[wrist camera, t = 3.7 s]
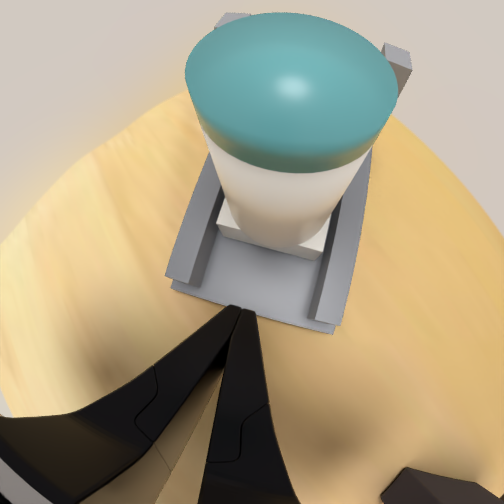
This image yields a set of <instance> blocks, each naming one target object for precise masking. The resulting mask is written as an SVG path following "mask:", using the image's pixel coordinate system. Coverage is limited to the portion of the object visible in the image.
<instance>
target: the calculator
mask: <svg viewBox="0 0 504 504" xmlns="http://www.w3.org/2000/svg"><path fill="white" fill-rule="evenodd" d="M381 499H382V501H383V502H384V504H504V501H503V500H501V499H500V498H498V497H497V496H495V495H494V494H492V493H491V492H489V491H488V490H486V489H485V488H483V487H482V486H480V485H479V484H477V483H474V482H468V481H462V480H457V479H452V478H447V477H443V476H438V475H434V474H430V473H426V472H422V471H418V470H415V469H411V468H405V469H404V471H403V472H402V473H401V474H400V475H399V477H398V478H397V479H396V480H395V481H394V482H393V484H392V485H391V486H390V487H389V488H388V489H387V490H386V491H385V493H384V494H383V495H382V496H381Z"/></svg>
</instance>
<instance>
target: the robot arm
mask: <svg viewBox="0 0 504 504" xmlns="http://www.w3.org/2000/svg"><path fill="white" fill-rule="evenodd" d="M223 371H224V372H223ZM222 373H223V377H222V382H221V387H220V392H219V397H218V402H217V407H216V412H215V417H214V423H213V428H212V433H211V438H210V443H209V448H208V453H207V459H206V464H205V469H204V474H203V479H202V484H201V489H200V494H199V499H198V504H301V503H300V502H299V500H298V498H297V496H296V494H295V492H294V489H293V487H292V484H291V482H290V479H289V476H288V473H287V470H286V467H285V464H284V461H283V458H282V455H281V451H280V448H279V445H278V441H277V438H276V434H275V430H274V425H273V420H272V415H271V408H270V404H269V396H268V390H267V383H266V377H265V370H264V364H263V357H262V351H261V344H260V337H259V331H258V324H257V318H256V312H255V311H253V310H250V309H246V308H243V309H242V308H241V307H239V306H236V305H232V304H229V305H228V306H227V307H225V308H224V309H223V310H222V311H220V312H219V313H218V314H217V315H215V316H214V317H213V318H212V319H210V320H209V321H208V322H207V323H205V324H204V325H203V326H202V327H200V328H199V329H198V330H197V331H195V332H194V333H193V334H192V335H190V336H189V337H188V338H187V339H185V340H184V341H183V342H181V343H180V344H179V345H178V346H176V347H175V348H174V349H173V350H171V351H170V352H169V353H167V354H166V355H165V356H164V357H162V358H161V359H160V360H158V361H157V362H156V363H155V364H154V366H153V365H152V366H150V367H149V368H148V369H147V370H145V371H144V372H143V373H141V374H140V375H138V376H137V377H136V378H134V379H133V380H131V381H130V382H128V383H127V384H125V385H123V386H122V387H120V388H118V389H117V390H115V391H113V392H111V393H110V394H108V395H106V396H104V397H102V398H101V399H99V400H97V401H95V402H93V403H91V404H89V405H88V406H86V407H84V408H82V409H80V410H77V411H75V412H71V413H68V414H62V415H52V416H39V417H20V418H9V417H4V416H2V415H1V414H0V504H154V503H155V501H156V500H157V498H158V496H159V494H160V492H161V491H162V489H163V487H164V485H165V483H166V481H167V480H168V478H169V476H170V474H171V472H172V470H173V468H174V467H175V465H176V463H177V461H178V459H179V457H180V455H181V454H182V452H183V450H184V448H185V446H186V444H187V442H188V440H189V438H190V436H191V435H192V433H193V431H194V429H195V427H196V425H197V423H198V421H199V419H200V417H201V415H202V413H203V411H204V409H205V407H206V405H207V403H208V402H209V400H210V398H211V396H212V394H213V392H214V390H215V388H216V386H217V384H218V382H219V380H220V378H221V376H222Z"/></svg>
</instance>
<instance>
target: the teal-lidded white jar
mask: <svg viewBox="0 0 504 504" xmlns="http://www.w3.org/2000/svg"><path fill="white" fill-rule="evenodd" d="M185 79H186V83H187V87H188V90H189V93H190V96H191V99H192V102H193V105H194V108H195V111H196V114H197V116H198V119H199V122H200V125H201V128H202V131H203V134H204V137H205V140H206V143H207V145H208V148H209V151H210V154H211V157H212V160H213V163H214V166H215V169H216V171H217V174H218V177H219V180H220V183H221V186H222V189H223V192H224V194H225V199H224V202H223V205H222V208H221V211H220V214H219V217H218V220H217V223H216V224H217V226H218V228H219V229H220V231H221V233H222V235H223V236H224V237H228V238H231V239H235V240H239V241H243V242H246V243H250V244H254V245H257V246H261V247H265V248H269V249H272V250H276V251H280V252H283V253H287V254H291V255H294V256H298V257H302V258H305V259H309V260H313V261H315V260H316V259H317V258H318V256H319V255H320V254H321V253H322V252H323V249H324V244H325V240H326V235H327V231H328V226H329V221H330V217H331V213H332V211H333V210H334V208H335V207H336V205H337V203H338V202H339V200H340V199H341V197H342V195H343V194H344V192H345V191H346V189H347V187H348V186H349V184H350V183H351V181H352V179H353V178H354V176H355V174H356V173H357V171H358V169H359V168H360V166H361V164H362V163H363V161H364V159H365V158H366V156H367V154H368V153H369V151H370V149H371V148H372V146H373V144H374V142H375V141H376V139H377V137H378V136H379V134H380V132H381V130H382V129H383V127H384V125H385V123H386V122H387V120H388V118H389V116H390V114H391V113H392V111H393V109H394V107H395V105H396V102H397V98H398V84H397V79H396V76H395V73H394V71H393V69H392V67H391V65H390V64H389V62H388V61H387V59H386V58H385V57H384V55H383V54H382V53H381V52H380V51H379V50H378V49H377V48H376V47H375V46H374V45H373V44H372V43H370V42H369V41H368V40H367V39H365V38H364V37H362V36H361V35H359V34H358V33H356V32H354V31H352V30H351V29H349V28H347V27H345V26H342V25H340V24H338V23H335V22H333V21H330V20H327V19H323V18H319V17H315V16H311V15H305V14H298V13H264V14H257V15H251V16H247V17H243V18H240V19H236V20H233V21H231V22H228V23H226V24H224V25H222V26H220V27H218V28H216V29H215V30H213V31H212V32H210V33H209V34H207V35H206V36H205V37H204V38H203V39H202V40H200V41H199V42H198V44H197V45H196V46H195V47H194V49H193V50H192V52H191V53H190V55H189V57H188V60H187V62H186V68H185Z"/></svg>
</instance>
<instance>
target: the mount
mask: <svg viewBox="0 0 504 504" xmlns="http://www.w3.org/2000/svg"><path fill="white" fill-rule="evenodd" d="M247 16H251V14H245V13H225V14H224V16H223V17H222V18H221V19H220V20H219V22H218V23H217V24H216V25H215V27H214V30H215V29H216V28H218V27H220V26H222V25H224V24H226V23H228V22H231V21H233V20H236V19H240V18H243V17H247ZM381 53H382V54H383V55H384V57H385V58H386V59H387V61H388V62H389V64H390V65H391V67H392V69H393V71H394V73H395V76H396V79H397V84H398V97H399V94H400V93H401V91H402V89H403V87H404V85H405V83H406V82H407V80H408V78H409V76H410V74H411V72H412V65H411V58H410V53H409V52H408V51H405V50H403V49H401V48H398V47H395V46H393V45H390V44H387V43H384V45H383V48H382V51H381ZM371 155H372V148H371V149H370V151H369V153H368V154H367V156H366V158H365V159H364V161H363V163H362V164H361V166H360V168H359V169H358V171H357V173H356V174H355V176H354V178H353V179H352V181H351V183H350V184H349V186H348V187H347V189H346V191H345V192H344V194H343V195H342V197H341V199H340V200H339V202H338V203H337V205H336V207H335V208H334V210H333V211H332V213H331V217H330V221H329V226H328V231H327V235H326V240H325V244H324V249H323V252H322V253H321V254H320V255H319V256H318V258H317V259H316V260H315V261H313V260H309V259H305V258H302V257H298V256H294V255H291V254H287V253H283V252H280V251H276V250H272V249H269V248H265V247H261V246H257V245H254V244H250V243H246V242H243V241H239V240H235V239H231V238H228V237H224V236H223V235H222V233H221V231H220V229H219V228H218V226H217V224H216V223H217V220H218V217H219V214H220V211H221V208H222V205H223V202H224V199H225V194H224V192H223V189H222V186H221V183H220V180H219V177H218V174H217V171H216V169H215V166H214V163H213V160H212V157H211V154H210V152H209V154H208V156H207V159H206V161H205V164H204V166H203V169H202V171H201V174H200V176H199V179H198V182H197V184H196V187H195V189H194V192H193V195H192V197H191V200H190V203H189V205H188V208H187V211H186V214H185V216H184V219H183V222H182V225H181V228H180V231H179V233H178V236H177V239H176V242H175V245H174V248H173V251H172V254H171V257H170V260H169V263H168V267H167V270H166V273H165V276H166V277H168V278H171V279H173V282H172V285H171V289H174V290H177V291H180V292H183V293H186V294H189V295H192V296H196V297H199V298H202V299H205V300H208V301H211V302H215V303H218V304H221V305H224V306H228V305H229V304H232V305H236V306H239V307H241V308H242V309H243V308H246V309H250V310H253V311H255V312H256V315H259V316H262V317H266V318H270V319H273V320H277V321H281V322H284V323H288V324H292V325H296V326H300V327H304V328H308V329H312V330H316V331H320V332H324V333H328V334H332V335H333V333H334V329H335V326H336V325H337V326H340V325H341V321H342V317H343V313H344V309H345V305H346V301H347V297H348V293H349V289H350V284H351V280H352V275H353V271H354V266H355V261H356V256H357V251H358V246H359V241H360V235H361V229H362V223H363V217H364V211H365V204H366V197H367V190H368V182H369V174H370V165H371Z"/></svg>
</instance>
